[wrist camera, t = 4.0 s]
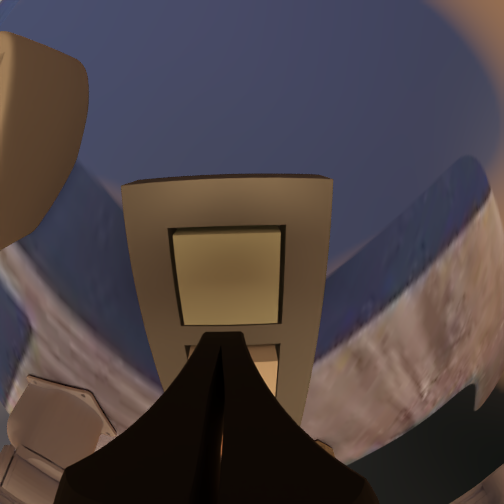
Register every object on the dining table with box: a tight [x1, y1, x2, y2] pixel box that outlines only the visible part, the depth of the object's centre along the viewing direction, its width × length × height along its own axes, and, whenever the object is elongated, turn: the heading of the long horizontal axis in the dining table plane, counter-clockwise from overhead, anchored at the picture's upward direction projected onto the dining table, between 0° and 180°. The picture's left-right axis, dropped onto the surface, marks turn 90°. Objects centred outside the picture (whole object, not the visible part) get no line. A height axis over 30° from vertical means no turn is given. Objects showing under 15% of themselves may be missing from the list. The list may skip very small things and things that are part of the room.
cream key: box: [188, 344, 278, 396], centre depth 16 cm, size 5×5×2 cm
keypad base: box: [121, 174, 333, 426], centre depth 17 cm, size 10×24×2 cm, turn 0°
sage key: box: [173, 225, 281, 325], centre depth 14 cm, size 5×5×2 cm
